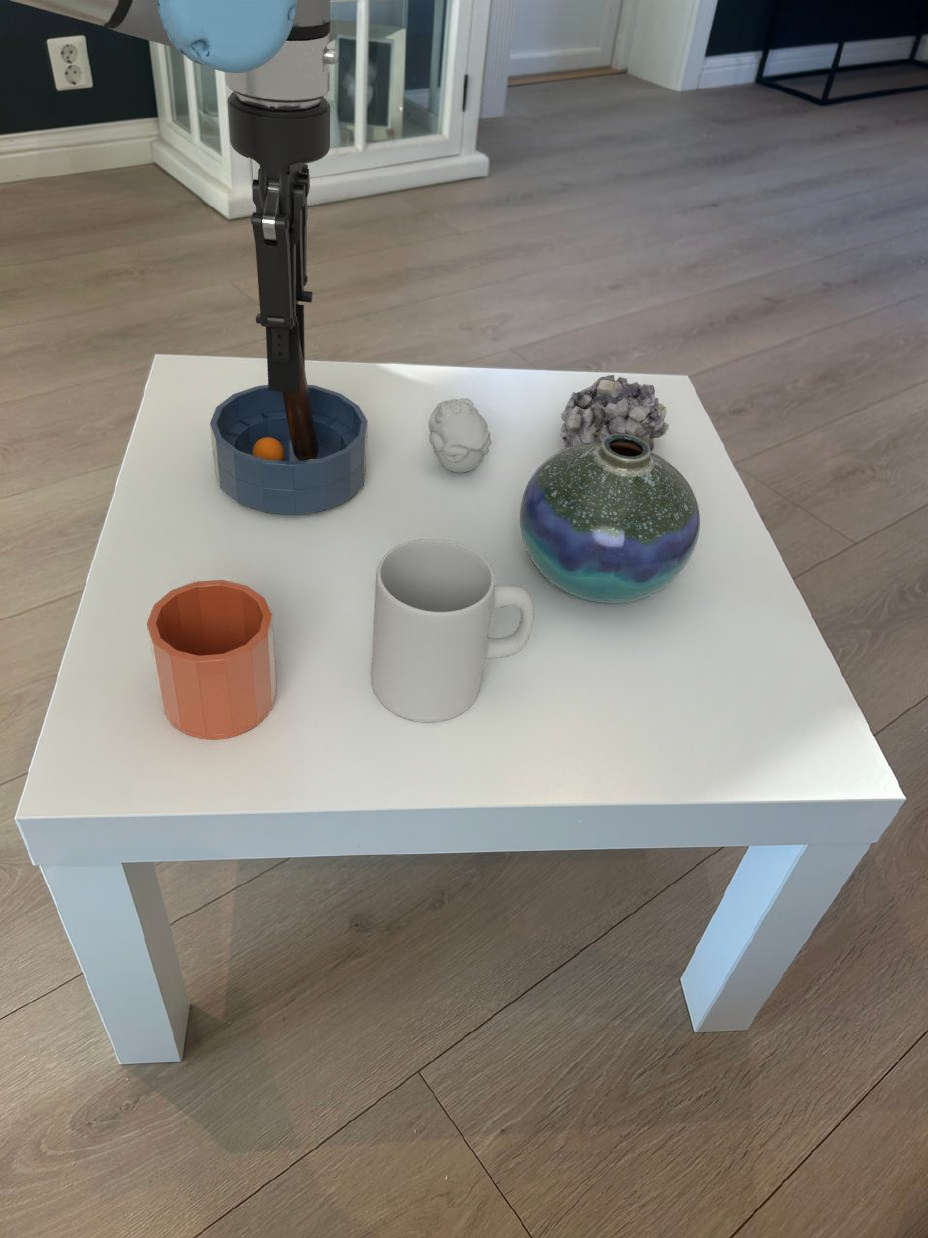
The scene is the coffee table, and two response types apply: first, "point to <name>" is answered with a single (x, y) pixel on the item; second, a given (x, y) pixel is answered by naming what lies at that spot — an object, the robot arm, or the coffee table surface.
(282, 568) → the coffee table surface
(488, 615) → the mug
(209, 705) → the holder
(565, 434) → the mineral specimen
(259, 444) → the ball
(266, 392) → the bowl
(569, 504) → the vase
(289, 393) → the stick
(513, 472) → the coffee table surface
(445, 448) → the frog figurine
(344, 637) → the coffee table surface
